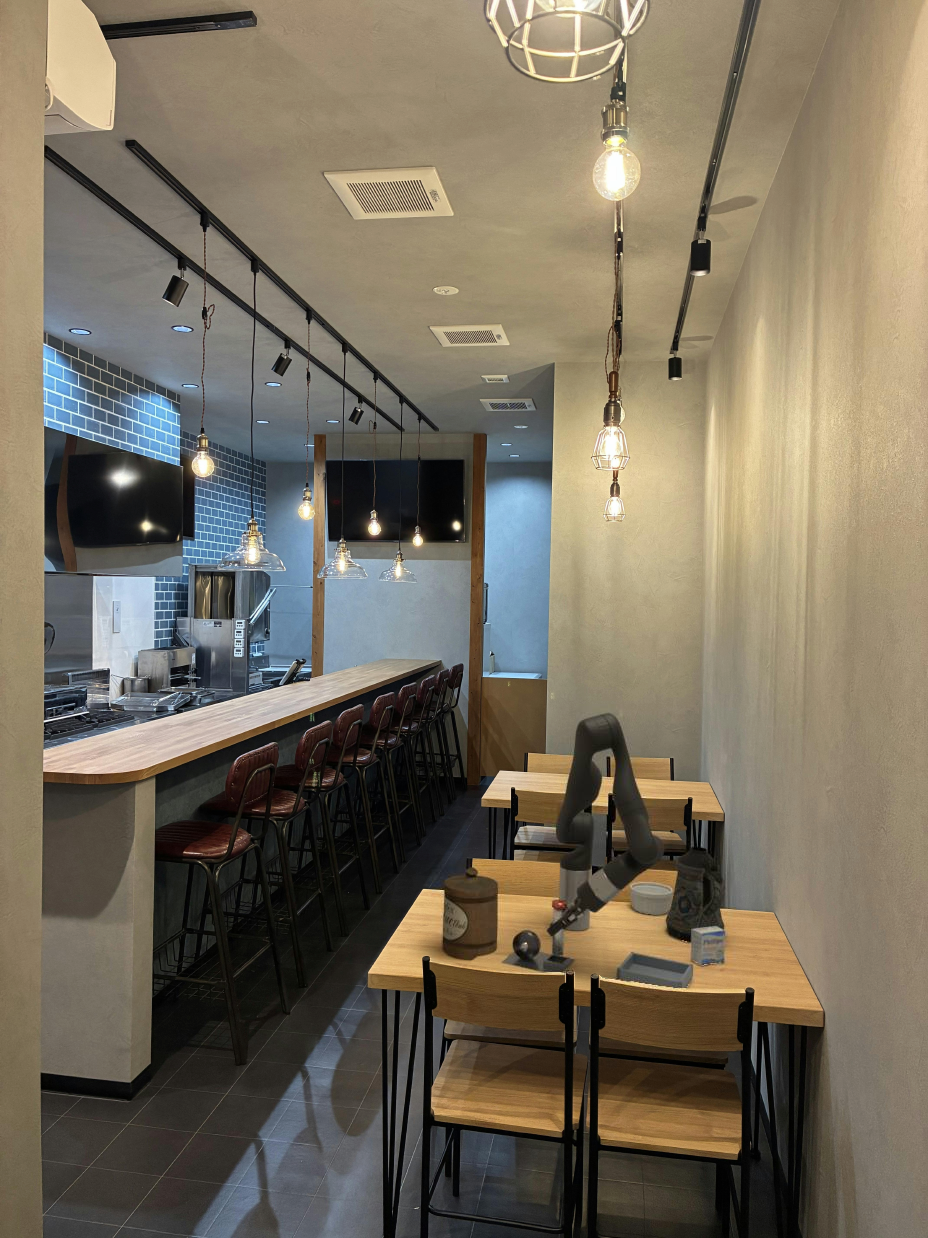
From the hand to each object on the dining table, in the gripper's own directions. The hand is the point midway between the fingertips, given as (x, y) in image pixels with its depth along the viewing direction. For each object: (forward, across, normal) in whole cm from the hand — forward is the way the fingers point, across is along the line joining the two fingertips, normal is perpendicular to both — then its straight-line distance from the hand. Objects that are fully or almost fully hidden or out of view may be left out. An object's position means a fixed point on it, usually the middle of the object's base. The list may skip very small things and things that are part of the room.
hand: (550, 931), depth 224 cm
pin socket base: (+9, 0, +5) cm, 10 cm away
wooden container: (+23, -4, -9) cm, 25 cm away
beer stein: (-19, -39, +33) cm, 54 cm away
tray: (-12, -1, +26) cm, 28 cm away
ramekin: (-8, -57, +23) cm, 62 cm away
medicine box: (-21, -19, +35) cm, 45 cm away
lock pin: (+2, 0, +5) cm, 6 cm away
